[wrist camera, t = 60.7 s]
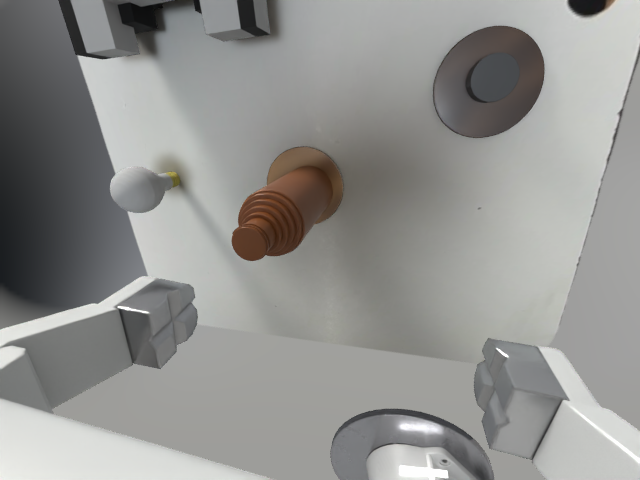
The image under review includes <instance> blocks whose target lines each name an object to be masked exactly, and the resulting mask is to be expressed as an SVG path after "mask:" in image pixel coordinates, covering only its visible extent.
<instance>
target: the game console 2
mask: <svg viewBox="0 0 640 480" xmlns="http://www.w3.org/2000/svg"><path fill="white" fill-rule="evenodd" d="M168 1H173V0H59V4H60V7H61V10H62V13H63V16H64V19H65V22H66V26H67V29H68V32H69V35H70V38H71V41H72V44H73V47H74V51H75V54H76V55H80V56H86V57H92V58H98V59H109V58H115V57H122V56H129V55H136V54H140V51H139V47H138V43H137V39H136V35H135V33H139V32H145V31H151V30H157V29H158V28H157V24H156V19H155V15H154V11H153V9H158V8H163V6H162V3H163V2H168ZM194 5H195V11H197V12H199V13H201V14H202V17H203V23H204V28H205V34H206V35H209V36H211V37H214V38H216V39H219V40H221V41H229V40H236V39H243V38H250V37H256V36H263V35H270V28H269V19H268V10H267V1H266V0H194Z"/></svg>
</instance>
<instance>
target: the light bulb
mask: <svg viewBox="0 0 640 480" xmlns="http://www.w3.org/2000/svg"><path fill="white" fill-rule="evenodd" d="M179 183H180V178H179V176H178V175H177V174H176V173H175V172H168V173H161V174H156V173H154V172H152V171H150V170H148V169H146V168H143V167H129V168H125V169H122V170H120V171H119V172H118V173H117V174H116V175H115V176H114V177H113V179H112V181H111V184H110V192H111V195H112V198H113V200H114V201H115V202H116V203H117V205H119V206H120V207H121V208H123V209H125V210H127V211H130V212H134V213H144V212H147V211H150V210H152V209H154V208H155V207H156V206H158V205H159V204H160V202H161V200H162V198H163V196H164V193H165V191H167V190H170V189H171V188H173V187H176V186H178V185H179Z"/></svg>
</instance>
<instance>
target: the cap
mask: <svg viewBox="0 0 640 480" xmlns="http://www.w3.org/2000/svg"><path fill="white" fill-rule="evenodd" d="M519 73H520V71H519V65H518V63H517V61H516V60H515V58H514V57H512V56H511V55H509V54H507V53H494V54H490V55H488V56H486V57H485V58H483V59H482V60H479V61H478V62H476V64H475V65H474V66H473V67H472V68H471V69H470V71H469V73H468V76H467V78H466V90H467V92H468V94H469V96H470V97H471V98H472V99H473V100H474V101H477V102H482V103H488V102H496V101H498V100H501V99H503V98H504V97H506V96H507V95H509V94H510V93H511V92H512V90H513V89H514V88H515V86H516V84H517V82H518V79H519Z"/></svg>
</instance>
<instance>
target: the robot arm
mask: <svg viewBox="0 0 640 480" xmlns="http://www.w3.org/2000/svg"><path fill="white" fill-rule="evenodd" d="M194 298H195V294H194V288H193V287H192V286H191V285H189V284H184V283H179V282H175V281H170V280H165V279H159V278H154V277H149V276H145V277H140V278H138V279H136V280H135V281H134V282H132V283H130V284H129V285H127V286H125V287H124V288H122V289H121V290H119V291H118V292H116V293H114V294H113V295H112V296H110V297H108V298H107V299H105V300H103V301H102V302H100V303H99V304H89V305H85V306H82V307H78V308H75V309H72V310H68V311H64V312H61V313H57V314H54V315H50V316H46V317H43V318H40V319H36V320H32V321H29V322H25V323H22V324H18V325H14V326H11V327H8V328H4V329H0V480H275V479H271V478H268V477H265V476H261V475H257V474H254V473H251V472H248V471H245V470H241V469H238V468H234V467H231V466H227V465H224V464H221V463H218V462H214V461H211V460H207V459H204V458H201V457H197V456H194V455H191V454H187V453H184V452H180V451H177V450H174V449H170V448H167V447H163V446H160V445H157V444H153V443H150V442H147V441H143V440H140V439H137V438H133V437H130V436H126V435H123V434H120V433H116V432H113V431H110V430H106V429H103V428H99V427H96V426H92V425H89V424H86V423H83V422H79V421H76V420H72V419H69V418H66V417H62V416H59V415H55V414H54V413H53V411H52V409H53V408H55V407H57V406H58V405H60V404H62V403H64V402H65V401H68V400H69V399H71V398H73V397H75V396H77V395H78V394H80V393H82V392H84V391H86V390H88V389H90V388H91V387H93V386H95V385H97V384H99V383H100V382H102V381H104V380H106V379H108V378H110V377H112V376H113V375H115V374H117V373H119V372H121V371H122V370H124V369H126V368H128V367H130V366H132V365H133V363H134V364H139V365H143V366H148V367H154V368H158V369H161V368H162V367H163V366H164V365H165V364H166V363H167V361H168V360H169V359H170V358H171V357H172V356H173V355H174V354H175V353H176V350H177V345H178V344H181V343H183V342H185V341H187V340H188V338H189V337H190V336H191V335H192V334H193V332H194V330H195V327H196V325H197V319H198V315H197V309H196V308H195V307H194V305H193V304H192V301H193V300H194ZM482 352H483V355H484V358H485V360H484V361H483V362H481V363H479V364H478V365H477V369H476V372H475V378H474V391H475V397H476V401H477V404H478V406H479V407H480V408H481V409H482V410H483V411H484V412H485V413H484V416H483V419H482V423H483V427H484V431H485V435H486V438H487V442H488V445H489V448H490V449H493V450H497V451H500V452H504V453H508V454H512V455H515V456H519V457H523V458H526V459H530V460H532V463H533V464H534V466H535V467H536V468H537V469H538V470H539V472H540V473H541V474H542V475H543V477H544V478H545V479H546V480H640V431H639V430H638V429H636V428H635V427H633V426H632V425H631V424H629V423H628V422H626V421H625V420H624V419H622V418H621V417H620V416H618V415H617V414H615V413H614V412H612V411H611V410H610V409H605V408H601V407H600V405H599V404H598V402H597V401H596V400H595V398H594V397H593V395H592V394H591V392H590V391H589V389H588V388H587V386H586V385H585V384H584V382H583V381H582V379H581V378H580V377H579V375H578V373H577V372H576V371H575V369H574V368H573V366H572V365H571V363H570V362H569V361H568V359H567V358H566V356H565V355H564V354H563V352H561V351H560V350H558V349H555V348H548V347H542V346H535V345H534V346H531V345H525V344H519V343H513V342H508V341H502V340H496V339H490V338H488V339H487V341H486V342H485V344H484V347H483V350H482ZM366 468H367V473H368V479H369V480H477V479H476V478H475V477H474V476H473V475H472V474H471V473H470V472H469V471H468V470H467V469H466V468H465V467H464V466H463V465H462V464H460V463H459V462H458V461H457V460H456V459H455V458H454V457H453V456H452V455H451V454H450V453H449V452H448V451H447V450H446V449H444V448H441V447H425V448H424V447H417V446H412V445H405V444H392V445H386V446H383V447H380V448H378V449H376V450H374V451H373V452H372V453H371V454H370V455H369V457H368V458H367V462H366Z"/></svg>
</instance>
